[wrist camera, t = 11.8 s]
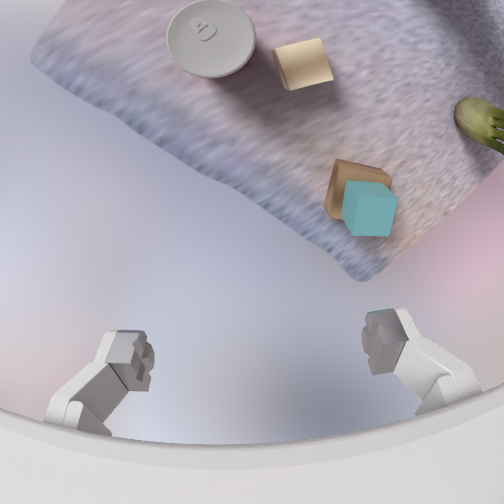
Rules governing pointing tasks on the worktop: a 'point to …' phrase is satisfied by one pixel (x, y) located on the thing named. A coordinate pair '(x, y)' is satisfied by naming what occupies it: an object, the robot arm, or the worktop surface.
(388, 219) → the teal cube
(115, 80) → the worktop surface
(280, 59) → the birch cube
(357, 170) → the walnut slab
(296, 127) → the worktop surface
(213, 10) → the canned food
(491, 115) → the fennel bulb
